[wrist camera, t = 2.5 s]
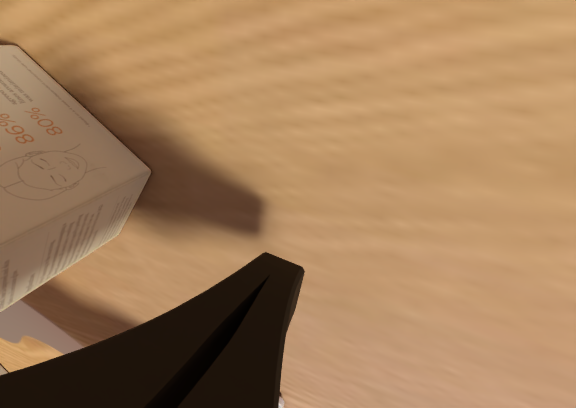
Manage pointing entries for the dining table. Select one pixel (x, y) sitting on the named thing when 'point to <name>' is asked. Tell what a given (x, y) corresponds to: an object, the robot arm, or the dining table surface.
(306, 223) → the dining table surface
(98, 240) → the small box
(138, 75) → the dining table surface
